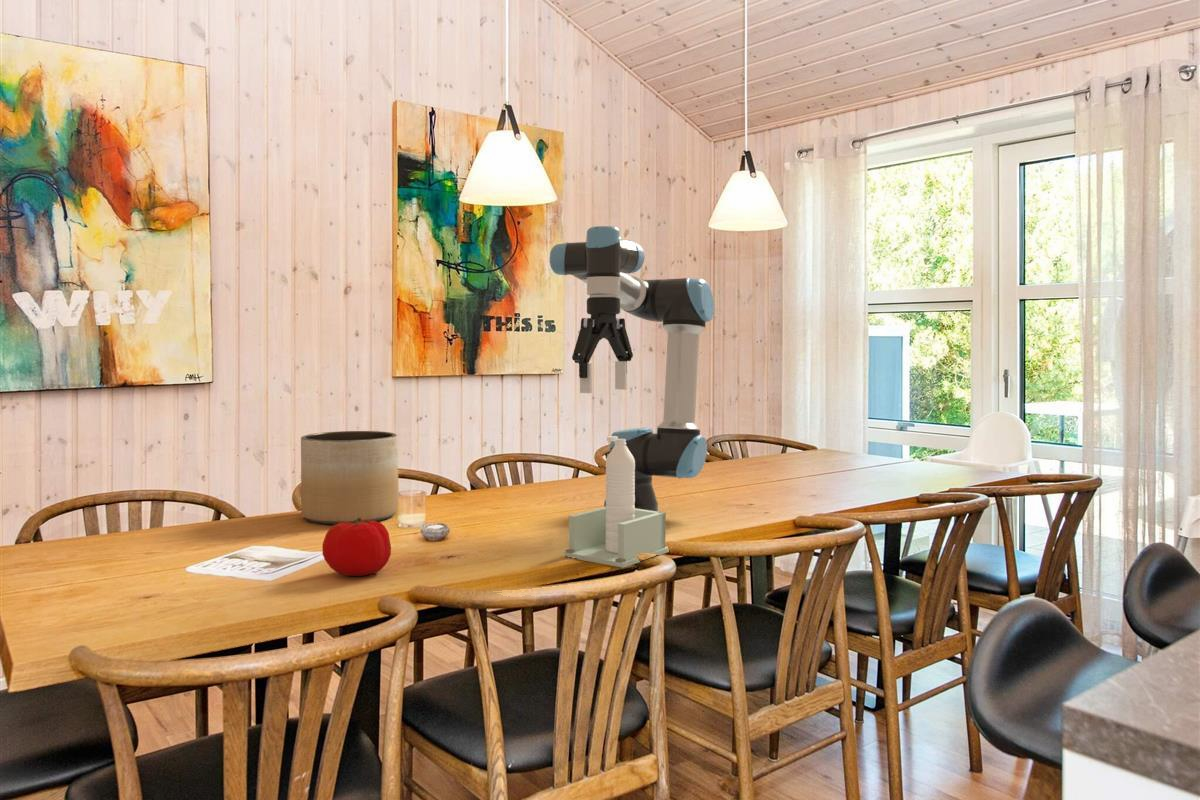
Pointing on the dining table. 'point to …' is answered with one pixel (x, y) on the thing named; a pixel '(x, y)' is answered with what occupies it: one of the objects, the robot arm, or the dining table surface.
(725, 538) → the dining table surface
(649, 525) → the u rest
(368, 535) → the tomato
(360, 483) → the planter
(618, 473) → the water bottle
